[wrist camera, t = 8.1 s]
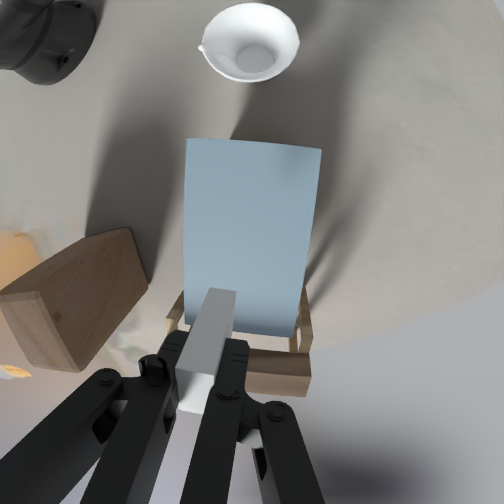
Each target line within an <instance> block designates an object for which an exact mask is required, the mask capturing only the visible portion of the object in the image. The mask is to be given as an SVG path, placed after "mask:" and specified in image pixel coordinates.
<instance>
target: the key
mask: <svg viewBox="0 0 504 504" xmlns="http://www.w3.org/2000/svg"><path fill="white" fill-rule="evenodd" d="M166 338H167V336H166ZM166 338H165V340H166ZM165 340H164V342H165ZM164 342H163V344H164ZM163 344H162V345H161V347H160V349H159V351H158V353H159V352H160V350H161V349H162V346H163ZM158 353H157V355H158ZM310 380H311V367H310V357H309V354H305V353H292V352H281V351H271V350H261V349H252V348H250V352H249V359H248V366H247V373H246V380H245V391H246V392H251V393H261V394H270V395H282V396H296V397H305V396H306V393H307V390H308V387H309V384H310Z"/></svg>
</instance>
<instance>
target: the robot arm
mask: <svg viewBox="0 0 504 504" xmlns="http://www.w3.org/2000/svg"><path fill="white" fill-rule="evenodd" d="M95 28H96V17H95V14H94V11H93V10H92V9H91V8H90V7H89V6H88V5H86V4H84V3H82V2H80V1H75V0H0V69H6V70H14V71H15V72H16V73H18V74H19V75H21V76H22V77H24V78H25V79H27V80H28V81H30V82H31V83H34V84H39V85H52V84H55V83H57V82H59V81H61V80H62V79H64V78H65V77H66V76H68V75H69V74H70V73H71V72H72V71H73V70H74V69H75V68H76V67H77V65H78V64H79V63H80V62H81V60H82V59H83V57H84V56H85V54H86V52H87V51H88V49H89V47H90V44H91V42H92V39H93V37H94V33H95ZM235 300H236V291H232V290H225V289H218V288H212V287H210V288H209V290H208V293H207V295H206V297H205V299H204V302H203V304H202V306H201V309H200V311H199V313H198V315H197V318H196V320H195V322H194V325H193V327H192V329H191V332H186V331H180V330H174V331H173V332H171V333H170V334H169V335H168V336H167V338H166V340H165V342H164V344H163V346H162V349H161V350H160V352H159V353H158V355H157V354H151V355H146V356H144V357H142V358H141V359H140V360H139V361H138V363H139V369H140V374H141V376H139V377H121V376H120V373H119V372H117V371H116V370H114V369H111V368H104V369H100V370H98V371H96V372H95V373H94V374H93V375H92V376H90V377H89V378H88V379H87V380H86V381H85V382H84V383H83V384H82V385H80V386H79V387H78V388H77V389H76V390H75V391H74V392H73V393H72V394H71V395H70V396H68V397H67V398H66V399H65V400H64V401H63V402H62V403H61V404H60V405H59V406H57V407H56V408H55V409H54V410H53V411H52V412H51V413H50V414H49V415H48V416H47V417H46V418H44V419H43V420H42V421H41V422H40V423H39V424H38V425H37V426H36V427H35V428H34V429H33V430H32V431H30V432H29V433H28V434H27V435H26V436H25V437H24V438H23V439H22V440H21V441H20V442H19V443H18V444H17V445H16V446H14V447H13V448H12V449H11V450H10V451H9V452H8V453H7V454H6V455H5V456H4V457H3V458H2V459H1V460H0V504H59V503H60V502H61V501H62V500H63V499H64V498H65V497H66V495H67V494H68V493H69V492H70V491H71V490H72V489H73V488H74V487H75V485H76V484H77V483H78V482H79V481H80V480H81V479H82V477H83V476H84V475H85V474H86V473H87V471H88V470H89V469H90V468H91V467H92V466H93V465H94V464H95V462H96V461H97V460H98V459H99V458H100V460H99V462H98V464H97V466H96V468H95V471H94V472H93V475H92V477H91V479H90V481H89V483H88V486H87V488H86V490H85V492H84V495H83V497H82V499H81V502H80V504H148V503H149V500H150V497H151V494H152V491H153V487H154V485H155V481H156V478H157V475H158V472H159V469H160V466H161V463H162V460H163V457H164V454H165V451H166V448H167V445H168V441H169V439H170V435H171V433H172V430H173V427H174V423H175V420H176V408H177V406H178V404H179V409H180V410H184V411H188V412H193V413H198V414H203V417H202V420H201V424H200V428H199V432H198V436H197V439H196V443H195V447H194V450H193V454H192V458H191V462H190V466H189V469H188V473H187V477H186V481H185V485H184V488H183V492H182V496H181V500H180V504H227V499H228V492H229V486H230V480H231V474H232V467H233V461H234V455H235V448H236V442H240V443H242V444H245V445H247V446H250V447H251V448H252V453H253V458H254V463H255V468H256V473H257V478H258V482H259V487H260V492H261V496H262V501H263V504H325V502H324V499H323V496H322V493H321V490H320V487H319V485H318V482H317V479H316V476H315V473H314V470H313V467H312V464H311V461H310V459H309V455H308V452H307V450H306V447H305V444H304V441H303V438H302V435H301V432H300V429H299V426H298V423H297V420H296V417H295V414H294V411H293V410H292V408H291V407H290V406H289V405H287V404H286V403H283V402H281V401H270V402H267V403H265V404H262V403H260V402H257V401H255V400H253V399H252V398H251V397H249V396H248V394H247V393H246V391H245V380H246V373H247V366H248V359H249V352H250V347H249V345H248V343H247V341H245V340H238V339H231V335H232V331H233V321H234V311H235Z"/></svg>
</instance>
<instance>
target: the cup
mask: <svg viewBox="0 0 504 504" xmlns="http://www.w3.org/2000/svg"><path fill="white" fill-rule="evenodd" d="M299 46H300V39H299V36H298V32H297V29H296V26H295V24H294V23H293V21H292V20H291V18H290V17H289V16H287V15H286V14H285V13H284V12H282V11H281V10H280V9H278V8H276V7H274V6H271V5H267V4H263V3H258V2H248V3H240V4H236V5H233V6H230V7H228V8H226V9H224V10H222V11H220V12H219V13H218V14H217V15H216V16H214V17H213V18H212V20H211V21H210V22H209V24H208V25H207V26H206V28H205V31H204V35H203V39H202V42H201V44H200V45H199V46H198V49H199V50H200V51H202V52H203V54H204V56H205V57H206V59H207V61H208V62H209V64H210V65H211V66H212V67H213V68H214V69H215V70H216V71H217V72H219V73H220V74H222V75H223V76H225V77H226V78H228V79H232V80H235V81H239V82H262V81H266V80H269V79H270V78H272V77H274V76H276V75H278V74H280V73H281V72H282V71H283V70H284V69H286V68H287V67H288V66H289V65H290V64H291V63H292V61H293V60H294V58H295V57H296V55H297V52H298V49H299Z"/></svg>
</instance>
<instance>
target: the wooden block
mask: <svg viewBox="0 0 504 504" xmlns="http://www.w3.org/2000/svg"><path fill="white" fill-rule="evenodd" d="M147 290H148V282H147V279H146V276H145V273H144V270H143V267H142V264H141V261H140V258H139V255H138V252H137V249H136V245H135V242H134V239H133V236H132V232H131V231H130V229H127V228H120V229H116V230H112V231H108V232H104V233H100V234H97V235H93V236H89V237H85V238H82V239H80V240H79V241H77V242H75V243H74V244H72V245H70V246H68V247H67V248H65V249H63V250H62V251H60V252H58V253H57V254H55V255H54V256H52V257H50V258H49V259H47V260H45V261H44V262H42V263H41V264H39V265H38V266H36V267H35V268H33V269H31V270H30V271H28V272H27V273H25V274H24V275H22V276H21V277H19V278H18V279H16V280H15V281H13V282H12V283H11V284H9V285H8V286H6V287H5V288H3V289H2V290H1V291H0V309H1V311H2V313H3V315H4V317H5V319H6V321H7V323H8V325H9V327H10V329H11V331H12V333H13V335H14V337H15V338H16V341H17V342H18V344H19V346H20V348H21V349H22V351H23V353H24V355H25V356H26V358H27V360H28V361H29V362H30V364H32V365H33V366H34V367H39V368H45V369H51V370H58V371H65V372H73V373H78V372H81V371H83V370H84V369H85V368H86V367H87V366H88V364H89V363H90V362H91V360H92V359H93V358H94V356H95V355H96V354H97V352H98V351H99V350H100V348H101V347H102V346H103V345H104V343H105V342H106V341H107V339H108V338H109V337H110V336H111V334H112V333H113V332H114V331H115V329H116V328H117V327H118V325H119V324H120V323H121V322H122V320H123V319H124V318H125V317H126V316H127V314H128V313H129V312H130V311H131V309H132V308H133V307H134V306H135V304H136V303H137V302H138V301H139V300H140V298H141V297H142V296H143V295H144V294H145V292H146V291H147Z"/></svg>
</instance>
